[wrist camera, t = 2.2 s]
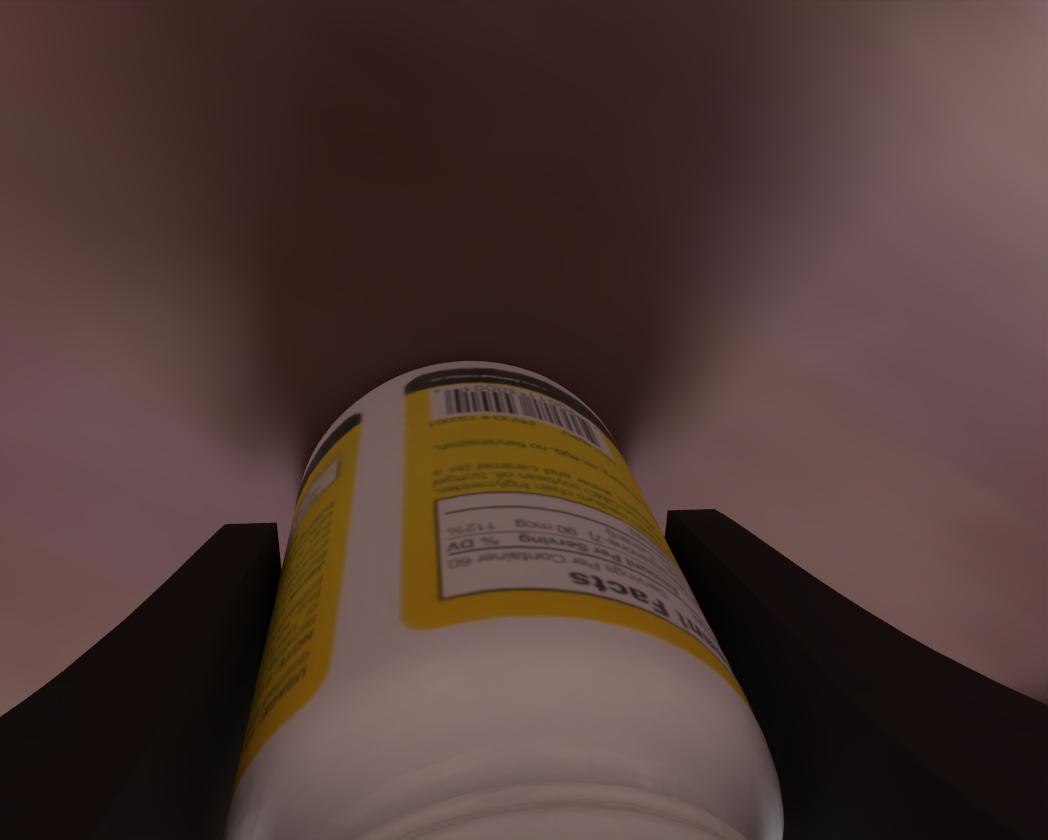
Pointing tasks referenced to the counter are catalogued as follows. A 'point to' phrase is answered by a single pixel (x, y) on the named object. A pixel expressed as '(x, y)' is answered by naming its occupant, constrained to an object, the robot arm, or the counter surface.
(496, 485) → the supplement bottle
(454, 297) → the counter surface
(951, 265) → the counter surface
